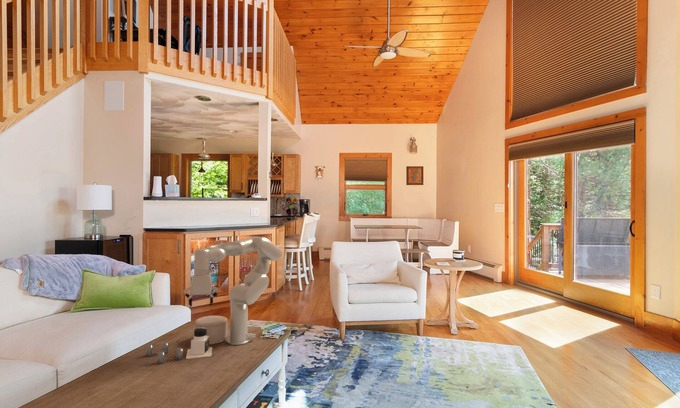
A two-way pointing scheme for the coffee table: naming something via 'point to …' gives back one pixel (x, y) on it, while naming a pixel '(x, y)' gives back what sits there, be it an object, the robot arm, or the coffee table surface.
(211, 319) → the container
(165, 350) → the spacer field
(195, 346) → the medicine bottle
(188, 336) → the coffee table surface
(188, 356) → the pad
